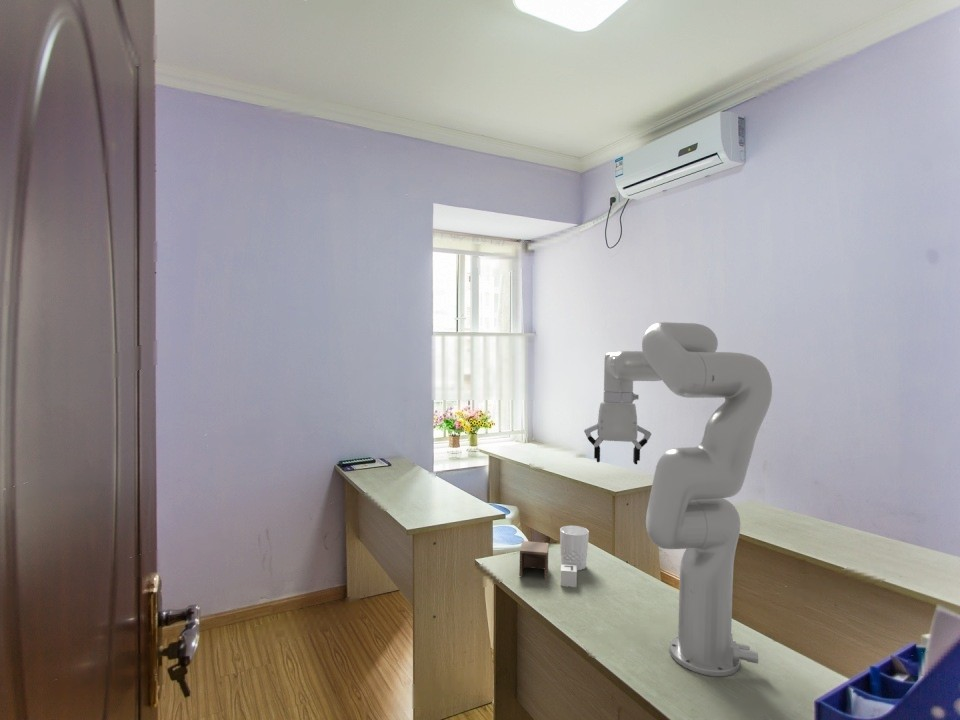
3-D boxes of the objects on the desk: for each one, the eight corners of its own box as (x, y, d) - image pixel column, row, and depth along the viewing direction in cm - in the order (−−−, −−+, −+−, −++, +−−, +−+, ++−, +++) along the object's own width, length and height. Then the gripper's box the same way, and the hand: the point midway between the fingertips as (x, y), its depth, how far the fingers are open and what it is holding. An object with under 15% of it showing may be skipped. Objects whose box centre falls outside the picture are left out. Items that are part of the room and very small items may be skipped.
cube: (576, 580, 138) (576, 565, 138) (576, 587, 134) (576, 571, 134) (560, 579, 138) (561, 564, 138) (560, 586, 134) (560, 570, 134)
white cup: (590, 571, 143) (591, 535, 143) (561, 571, 143) (562, 534, 143) (584, 560, 151) (585, 525, 151) (557, 560, 151) (557, 525, 151)
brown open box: (548, 568, 145) (548, 543, 145) (546, 579, 138) (547, 552, 138) (521, 566, 146) (522, 540, 146) (519, 576, 139) (519, 550, 139)
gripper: (649, 398, 143) (648, 461, 143) (584, 396, 146) (583, 457, 146) (654, 400, 136) (652, 467, 136) (585, 398, 139) (583, 463, 139)
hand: (616, 462), depth 141 cm, fingers open, 9 cm apart
